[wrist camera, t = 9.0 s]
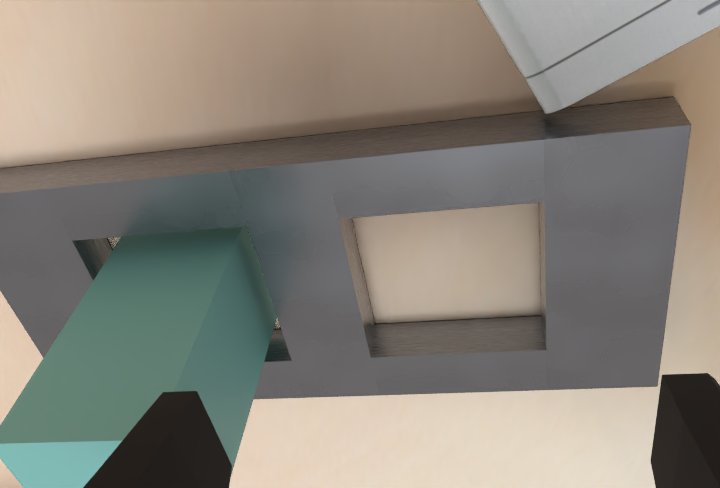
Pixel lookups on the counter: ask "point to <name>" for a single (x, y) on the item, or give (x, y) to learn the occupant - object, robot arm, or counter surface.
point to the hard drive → (592, 40)
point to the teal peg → (145, 353)
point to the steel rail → (385, 197)
